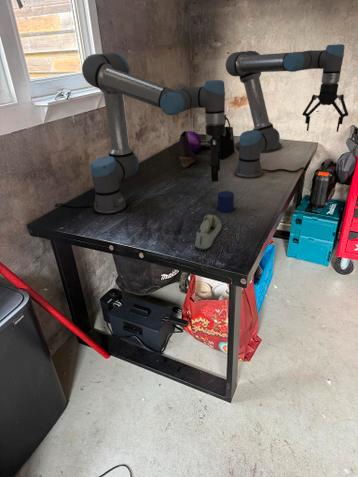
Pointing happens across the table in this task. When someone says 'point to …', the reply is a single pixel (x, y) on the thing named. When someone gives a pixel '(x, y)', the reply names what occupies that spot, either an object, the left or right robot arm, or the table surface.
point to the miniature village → (265, 151)
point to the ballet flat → (207, 232)
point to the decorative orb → (193, 141)
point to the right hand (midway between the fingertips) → (322, 130)
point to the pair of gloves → (206, 142)
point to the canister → (225, 201)
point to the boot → (186, 151)
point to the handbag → (226, 141)
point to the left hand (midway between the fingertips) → (215, 175)
